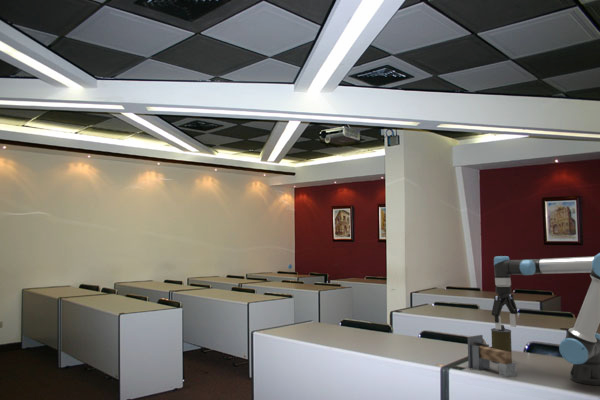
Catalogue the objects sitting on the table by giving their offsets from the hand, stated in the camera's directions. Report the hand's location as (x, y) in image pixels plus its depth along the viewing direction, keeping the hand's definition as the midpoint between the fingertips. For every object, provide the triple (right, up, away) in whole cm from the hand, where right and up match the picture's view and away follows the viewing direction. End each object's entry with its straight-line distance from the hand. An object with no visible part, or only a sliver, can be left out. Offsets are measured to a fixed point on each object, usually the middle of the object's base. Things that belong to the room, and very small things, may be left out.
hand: (505, 327), depth 238 cm
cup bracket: (-12, -22, +5) cm, 26 cm away
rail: (-7, -16, -1) cm, 17 cm away
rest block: (-3, -21, -8) cm, 23 cm away
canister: (+6, -24, +18) cm, 31 cm away
